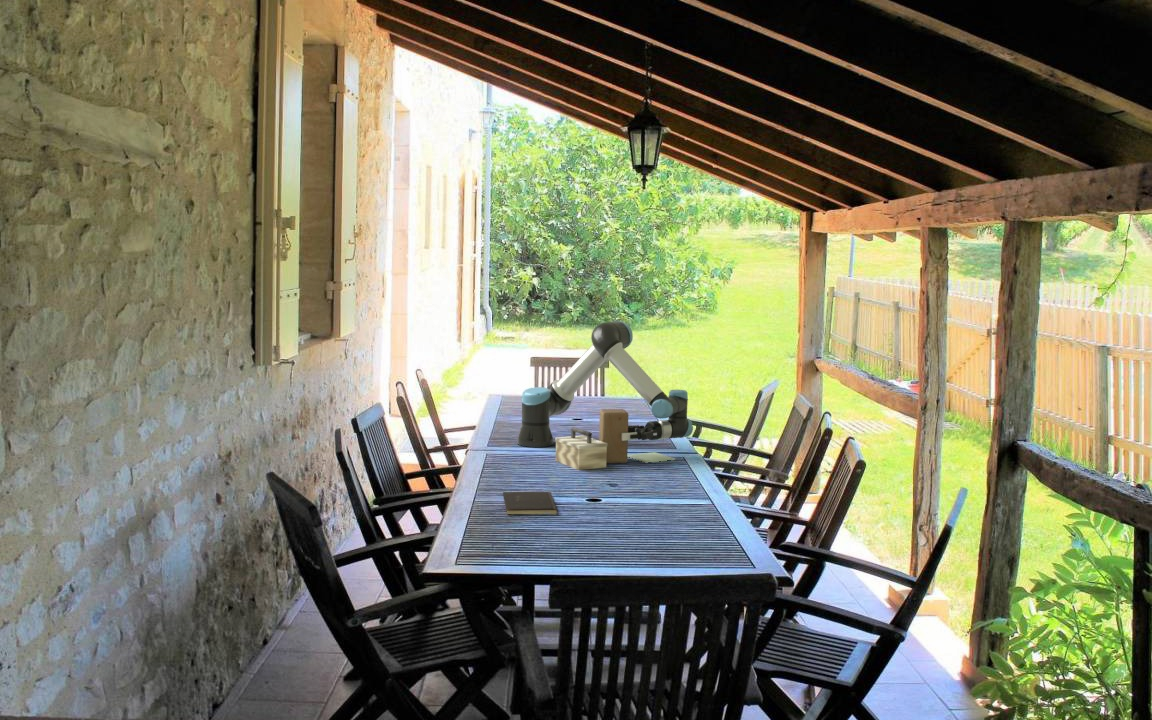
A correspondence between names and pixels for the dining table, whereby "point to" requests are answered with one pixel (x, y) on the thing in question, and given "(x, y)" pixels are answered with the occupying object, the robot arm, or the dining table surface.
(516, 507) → the hardcover book
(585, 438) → the toolbox
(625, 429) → the wooden block
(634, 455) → the mat
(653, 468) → the dining table surface
